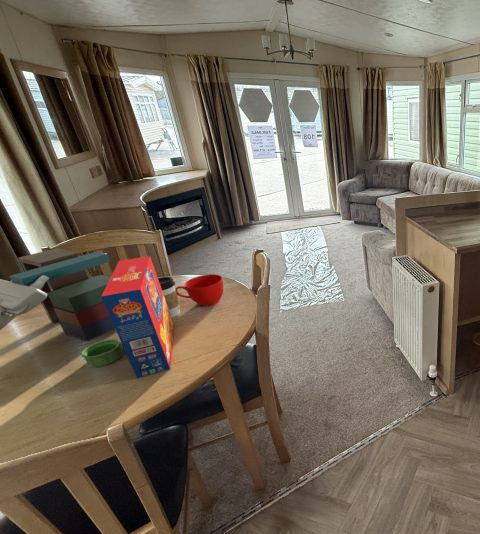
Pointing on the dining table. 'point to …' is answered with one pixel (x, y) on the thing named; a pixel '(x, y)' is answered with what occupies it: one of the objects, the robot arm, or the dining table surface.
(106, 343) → the ramekin
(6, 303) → the robot arm
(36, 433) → the dining table surface
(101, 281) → the book pile
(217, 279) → the ceramic cup
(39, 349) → the dining table surface
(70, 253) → the walnut shelf
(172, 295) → the coffee cup
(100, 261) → the teal bar
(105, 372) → the dining table surface
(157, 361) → the cereal box
